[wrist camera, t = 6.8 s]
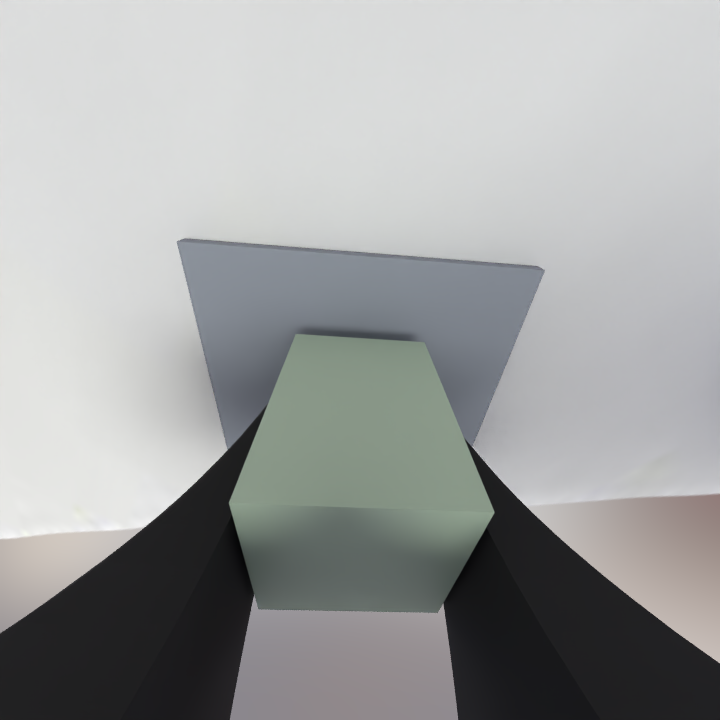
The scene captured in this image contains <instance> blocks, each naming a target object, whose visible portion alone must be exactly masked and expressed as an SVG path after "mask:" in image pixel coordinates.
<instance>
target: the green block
mask: <svg viewBox="0 0 720 720" xmlns="http://www.w3.org/2000/svg"><path fill="white" fill-rule="evenodd" d="M229 505H230V509H231V513H232V516H233V520H234V523H235V527H236V530H237V534H238V538H239V541H240V545H241V548H242V552H243V555H244V559H245V563H246V566H247V570H248V573H249V577H250V580H251V584H252V588H253V591H254V595H255V598H256V602H257V605H258V609H270V610H273V609H274V610H323V611H374V612H375V611H377V612H428V613H438V611H439V610H440V608H441V606H442V604H443V603H444V601H445V599H446V597H447V596H448V594H449V592H450V590H451V588H452V587H453V585H454V583H455V581H456V580H457V578H458V576H459V574H460V573H461V571H462V569H463V567H464V566H465V564H466V562H467V560H468V559H469V557H470V555H471V553H472V552H473V550H474V548H475V546H476V545H477V543H478V541H479V539H480V537H481V536H482V534H483V532H484V530H485V529H486V527H487V525H488V523H489V522H490V520H491V518H492V516H493V515H494V513H495V512H494V510H493V507H492V505H491V502H490V500H489V498H488V495H487V493H486V490H485V488H484V485H483V483H482V481H481V478H480V476H479V473H478V471H477V468H476V466H475V464H474V461H473V459H472V456H471V454H470V451H469V449H468V447H467V444H466V442H465V439H464V437H463V434H462V432H461V430H460V427H459V425H458V422H457V420H456V417H455V415H454V413H453V410H452V408H451V405H450V403H449V400H448V398H447V396H446V393H445V391H444V388H443V386H442V383H441V381H440V379H439V376H438V374H437V371H436V369H435V366H434V364H433V362H432V359H431V357H430V354H429V352H428V349H427V347H426V345H425V342H414V341H398V340H382V339H367V338H351V337H336V336H320V335H304V334H296V335H295V337H294V340H293V342H292V345H291V347H290V350H289V352H288V355H287V357H286V360H285V362H284V365H283V367H282V370H281V372H280V375H279V377H278V380H277V383H276V385H275V388H274V390H273V393H272V395H271V398H270V400H269V403H268V405H267V408H266V410H265V413H264V415H263V418H262V420H261V423H260V425H259V428H258V430H257V433H256V436H255V438H254V441H253V443H252V446H251V448H250V451H249V453H248V456H247V458H246V461H245V463H244V466H243V468H242V471H241V473H240V476H239V478H238V481H237V484H236V486H235V489H234V491H233V494H232V496H231V499H230V501H229Z"/></svg>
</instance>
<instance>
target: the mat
mask: <svg viewBox="0 0 720 720" xmlns="http://www.w3.org/2000/svg"><path fill="white" fill-rule="evenodd" d="M177 245H178V249H179V253H180V257H181V261H182V265H183V269H184V273H185V277H186V281H187V285H188V289H189V294H190V298H191V302H192V306H193V310H194V314H195V318H196V322H197V326H198V330H199V334H200V339H201V343H202V347H203V351H204V355H205V359H206V363H207V367H208V371H209V375H210V379H211V383H212V388H213V392H214V396H215V400H216V404H217V408H218V412H219V416H220V420H221V424H222V428H223V433H224V437H225V441H226V445H227V449H229V448H230V447H231V446H232V445H233V444H234V443H235V442H236V440H237V439H238V438H239V437H240V436H241V435H242V434H243V433H244V431H245V430H246V429H247V428H248V427H249V426H250V424H251V423H252V422H253V421H254V420H255V418H256V417H257V416H258V415H259V414H260V412H261V411H262V410H263V409H264V407H265V406H266V405H267V404H268V403H269V400H270V398H271V395H272V393H273V390H274V388H275V385H276V383H277V380H278V377H279V375H280V372H281V370H282V367H283V365H284V362H285V360H286V357H287V355H288V352H289V350H290V347H291V345H292V342H293V340H294V337H295V335H296V334H304V335H320V336H336V337H351V338H367V339H382V340H398V341H414V342H425V345H426V347H427V349H428V352H429V354H430V357H431V359H432V362H433V364H434V366H435V369H436V371H437V374H438V376H439V379H440V381H441V383H442V386H443V388H444V391H445V393H446V396H447V398H448V400H449V403H450V405H451V408H452V410H453V413H454V415H455V417H456V420H457V422H458V425H459V427H460V430H461V432H462V434H463V437H464V438H465V439H466V440H467V442H468V443H469V444H470V445H471V447H472V446H473V443H474V441H475V438H476V436H477V434H478V431H479V429H480V426H481V424H482V421H483V419H484V417H485V414H486V412H487V409H488V407H489V404H490V402H491V400H492V397H493V395H494V392H495V390H496V388H497V385H498V383H499V380H500V378H501V375H502V373H503V371H504V368H505V366H506V363H507V361H508V358H509V356H510V354H511V351H512V349H513V346H514V344H515V341H516V339H517V337H518V334H519V332H520V329H521V327H522V325H523V322H524V320H525V317H526V315H527V312H528V310H529V308H530V305H531V303H532V300H533V298H534V295H535V293H536V291H537V288H538V286H539V283H540V281H541V279H542V276H543V274H544V271H545V270H543V269H541V268H539V267H537V266H526V265H514V264H501V263H488V262H475V261H463V260H450V259H437V258H424V257H412V256H399V255H386V254H374V253H361V252H348V251H335V250H323V249H310V248H297V247H284V246H272V245H259V244H246V243H234V242H221V241H208V240H195V239H182V240H180V241H177Z"/></svg>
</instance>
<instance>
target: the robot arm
mask: <svg viewBox="0 0 720 720" xmlns="http://www.w3.org/2000/svg"><path fill="white" fill-rule="evenodd" d="M267 405H268V404H267ZM267 405H266V406H265V407H264V409H263V410H262V411H261V412H260V414H259V415H258V416H257V417H256V418H255V420H254V421H253V422H252V423H251V424H250V426H249V427H248V428H247V429H246V430H245V431H244V433H243V434H242V435H241V436H240V437H239V438H238V439H237V440H236V442H235V443H234V444H233V445H232V446H231V447H230V448H229V449H228V450H227V451H226V452H225V454H224V455H223V456H222V457H221V458H220V459H219V460H218V461H217V462H216V463H215V464H214V465H213V466H212V467H211V468H210V469H209V470H208V471H207V472H206V473H205V474H204V475H203V476H202V477H201V478H200V479H199V480H198V481H197V482H196V483H195V484H194V485H193V486H192V487H190V488H189V489H188V490H187V491H186V492H185V493H184V494H183V495H182V496H181V497H180V498H179V499H177V500H176V501H175V502H174V503H173V504H172V505H171V506H169V507H168V508H167V509H166V510H165V511H164V512H163V513H161V514H160V515H159V516H158V517H157V518H156V519H154V520H153V521H152V522H151V523H149V524H148V525H147V526H146V527H145V528H143V529H142V530H141V531H140V532H139V533H137V534H136V535H135V536H134V537H133V538H131V539H130V540H129V541H127V542H126V543H125V544H124V545H123V546H121V547H120V548H119V549H117V550H116V551H115V552H113V553H112V554H111V555H110V556H108V557H107V558H106V559H104V560H103V561H102V562H100V563H99V564H98V565H96V566H95V567H93V568H92V569H91V570H90V571H88V572H87V573H86V574H84V575H83V576H81V577H80V578H78V579H77V580H76V581H74V582H73V583H72V584H70V585H69V586H68V587H66V588H65V589H63V590H62V591H61V592H59V593H58V594H57V595H55V596H54V597H53V598H51V599H50V600H48V601H47V602H46V603H44V604H43V605H41V606H40V607H38V608H37V609H36V610H34V611H33V612H31V613H30V614H29V615H27V616H26V617H24V618H23V619H21V620H20V621H18V622H17V623H15V624H14V625H12V626H11V627H9V628H8V629H6V630H5V631H3V632H2V633H0V720H230V715H231V709H232V704H233V698H234V693H235V688H236V683H237V677H238V672H239V667H240V662H241V656H242V651H243V646H244V641H245V636H246V631H247V626H248V621H249V616H250V611H251V606H252V602H253V597H254V591H253V588H252V584H251V580H250V577H249V573H248V570H247V566H246V563H245V559H244V555H243V552H242V548H241V545H240V541H239V538H238V534H237V530H236V527H235V523H234V520H233V516H232V513H231V509H230V505H229V501H230V499H231V496H232V494H233V491H234V489H235V486H236V484H237V481H238V478H239V476H240V473H241V471H242V468H243V466H244V463H245V461H246V458H247V456H248V453H249V451H250V448H251V446H252V443H253V441H254V438H255V436H256V433H257V430H258V428H259V425H260V423H261V420H262V418H263V415H264V413H265V410H266V408H267ZM464 439H465V438H464ZM465 442H466V444H467V447H468V449H469V451H470V454H471V456H472V459H473V461H474V464H475V466H476V468H477V471H478V473H479V476H480V478H481V481H482V483H483V485H484V488H485V490H486V493H487V495H488V498H489V500H490V502H491V505H492V507H493V510H494V512H495V513H494V515H493V516H492V518H491V520H490V522H489V523H488V525H487V527H486V529H485V530H484V532H483V534H482V536H481V537H480V539H479V541H478V543H477V545H476V546H475V548H474V550H473V552H472V553H471V555H470V557H469V559H468V560H467V562H466V564H465V566H464V567H463V569H462V571H461V573H460V574H459V576H458V578H457V580H456V581H455V583H454V585H453V587H452V588H451V590H450V592H449V594H448V596H447V597H446V599H445V601H444V603H443V604H444V610H445V617H446V625H447V632H448V639H449V646H450V654H451V662H452V670H453V677H454V686H455V694H456V703H457V712H458V720H720V663H718V662H717V661H715V660H714V659H713V658H711V657H710V656H708V655H707V654H706V653H704V652H703V651H701V650H700V649H699V648H697V647H696V646H694V645H693V644H692V643H690V642H689V641H688V640H686V639H685V638H683V637H682V636H680V635H679V634H678V633H676V632H675V631H674V630H672V629H671V628H670V627H668V626H667V625H665V624H664V623H663V622H662V621H661V620H659V619H658V618H657V617H655V616H654V615H653V614H651V613H650V612H649V611H647V610H646V609H645V608H644V607H642V606H641V605H640V604H638V603H637V602H635V601H634V600H633V599H632V598H631V597H629V596H628V595H627V594H626V593H624V592H623V591H622V590H620V589H619V588H618V587H617V586H616V585H614V584H613V583H612V582H611V581H609V580H608V579H607V578H606V577H604V576H603V575H602V574H601V573H599V572H598V571H597V570H596V569H595V568H594V567H592V566H591V565H590V564H589V563H588V562H587V561H585V560H584V559H583V558H582V557H581V556H579V555H578V554H577V553H576V552H575V551H573V550H572V549H571V548H570V547H569V546H568V545H567V544H566V543H564V542H563V541H562V540H561V539H560V538H559V537H558V536H557V535H555V534H554V533H553V532H552V531H551V530H550V529H549V528H548V527H547V526H546V525H545V524H544V523H543V522H542V521H541V520H539V519H538V518H537V517H536V516H535V515H534V514H533V513H532V512H531V511H530V510H529V509H528V508H527V507H526V506H525V505H524V504H523V503H522V502H521V501H520V500H519V499H518V498H517V497H516V496H515V495H514V494H513V493H512V492H511V491H510V490H509V489H508V488H507V486H506V485H505V484H504V483H503V482H502V481H501V480H500V479H499V478H498V477H497V476H496V475H495V473H494V472H493V471H492V470H491V469H490V468H489V467H488V465H487V464H486V463H485V462H484V461H483V460H482V458H481V457H480V456H479V455H478V454H477V453H476V451H475V450H474V449H473V448H472V447H471V445H470V444H469V443H468V442H467V440H466V439H465Z"/></svg>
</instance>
